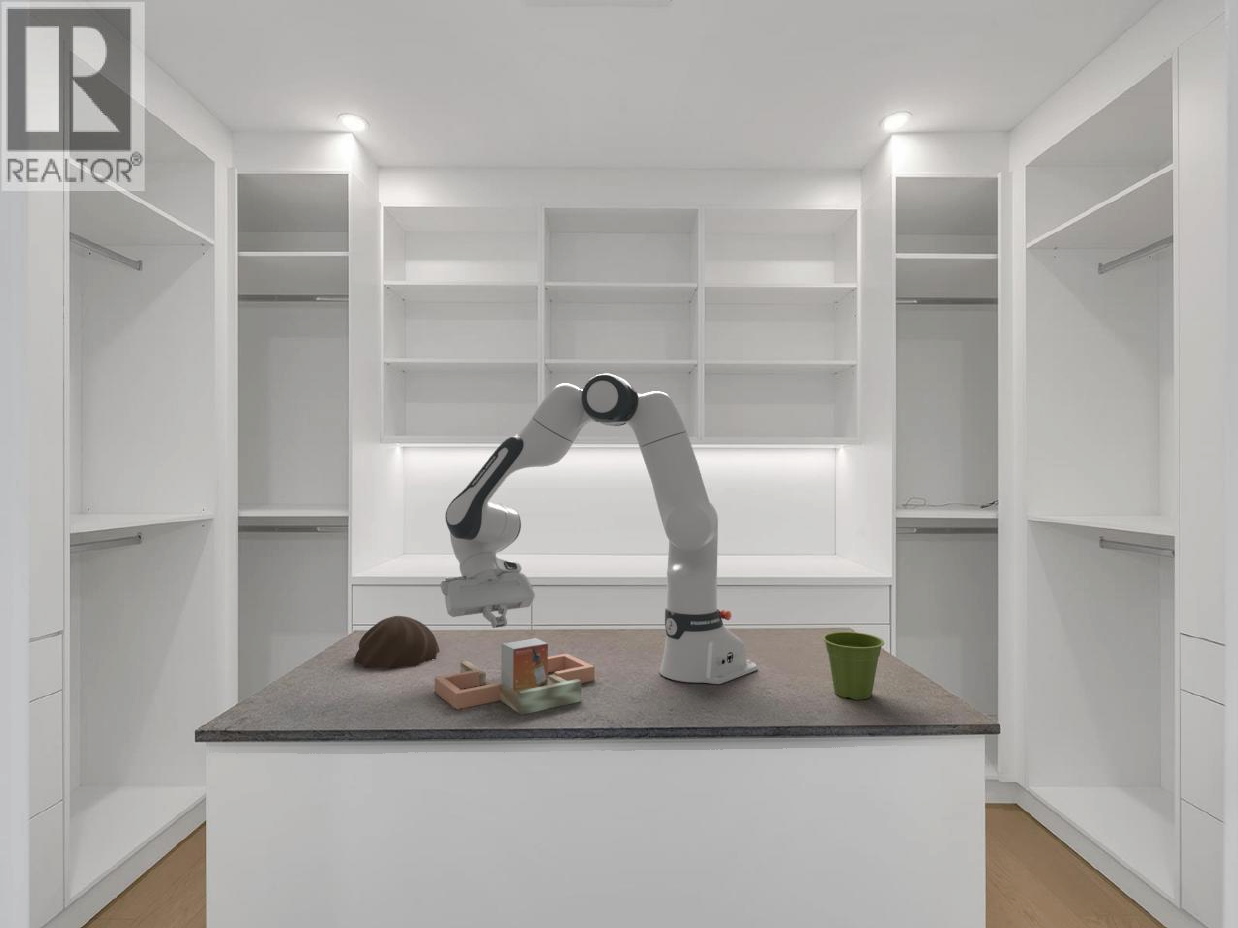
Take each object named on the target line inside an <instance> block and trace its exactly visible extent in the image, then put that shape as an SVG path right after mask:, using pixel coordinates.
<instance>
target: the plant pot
mask: <svg viewBox="0 0 1238 928" xmlns="http://www.w3.org/2000/svg"><path fill="white" fill-rule="evenodd" d="M822 641H823V642H825V647H826V652H827V653H828V659H829V664H830V665H829V667H830V673H831V678H832V685H833V692H834V693H835V695H837V696H839V697H840V698H845V699H846V698H850V699H852V700H855V701H859V700H866V699H869V698H870V697H871V696H873V695H872V694H873V689H874V685H875V678H876V673H877V666H878V660H879V657H880V656H881V649H882V646H884V645H885V641H884V640H883V639H882V638H881V637H880V636H879V637H878V636H876V635H872V634H868V633H863V632H857V631H856V632H855V631H837V632H836V631H834V632H830V633H829V632H828V633H826V634H824V635H823V636H822Z"/></svg>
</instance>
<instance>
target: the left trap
mask: <svg viewBox="0 0 1238 928" xmlns="http://www.w3.org/2000/svg"><path fill="white" fill-rule="evenodd" d="M500 685H501V684H499V683H498V682H496V683H491V684H486V685H481V686H479V671H477V670H473V671H467V672H462V673H460V672H457V673H452V674H447V675H446V674H445V675H440V676H436V677H435V676H434V693H435V692H436V693H435V694H437V695H438V696H439V697H440V696H441V697H440V698H441V699H443V700H444V701H445V702H446V703H448V704H449V705H450V706H451V707H452V708H454V709H455V708H456V709H457V710H460V709H459V708H462V709H466V708H470V707H475V706H479V705H485V704H489V703H493V702H499V701H500ZM475 686H476V687H475ZM469 687H471V688H469ZM464 688H466V689H464ZM460 689H461V690H460ZM456 709H455V710H456Z"/></svg>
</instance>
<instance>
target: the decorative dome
mask: <svg viewBox="0 0 1238 928" xmlns="http://www.w3.org/2000/svg"><path fill="white" fill-rule="evenodd" d="M438 652H440V647H439V643H438V641H437V639H436V637H435V634H434V633H433V632H432V631H431V629H430V628H428V626H426V625H425V624H424V623H423V622H421V621H419V620H417V619H414V618H412V617H410V616H403V615H394V616H390V617H387V618H384V619H382V620H380V621H378V622H377V623H376V624H374V626H372V627H371V628H369V629H368V630H367V631H366V632H365V633H364V634H363V635H362V637H361V638H360V640H359V643H358V650H357V651H356V653H355V657H354V659H353V662H354V663H358V664H360V665H362V667H363V668H379V669H380V668H381V669H385V670H392V669H396V668H400V667H401V668H402V667H416V665H417V666H419V665H421V664H423V663H425V662H424V661H426V662H430V661H429V660H431V661H433V660H432V659H435V660H436V659H437V655H438V654H439V653H438ZM437 653H438V654H437ZM422 662H423V663H422ZM420 663H421V664H420Z"/></svg>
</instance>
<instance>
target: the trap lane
mask: <svg viewBox="0 0 1238 928" xmlns="http://www.w3.org/2000/svg"><path fill="white" fill-rule="evenodd" d="M459 663H460V666H459V667H460V668H459V669H460V672H459V673H462V672H467V671H473V670H477V671H479V686H478V687H480V685H481V686H485V685H487V680H486V679H487V675H486V674H487V673H486V672H485V671H484V670H482V669H481V668H479V667H477V666H476V665H474V664H473V663H471V662H469V661H468V660H464V661H460V662H459ZM499 685H500V700H499V701H500V702H501V703H504V704H505V705H506V706H508V707H510V709H512V710H514V711H515V712H517V713H518V714H519V715H521V716H523V715H528V714H532V713H537V712H541V711H544V710H545V711H546V710H549V708H550V709H554V708H558V707H562V706H566V705H571V704H575V703H580V702H582V683H581V680H579V679H575V680H570V681H566V680H564V679H562V678H561V677H559V676H557V675H555V674H554V673H553V674H548V685H546V686H541V687H537V688H532V689H527V690H522V691H518V693H517V692H515V691H514V690H512V689H511V688H509V687H507V686H506V685H504V684H503V685H501V684H499Z"/></svg>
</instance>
